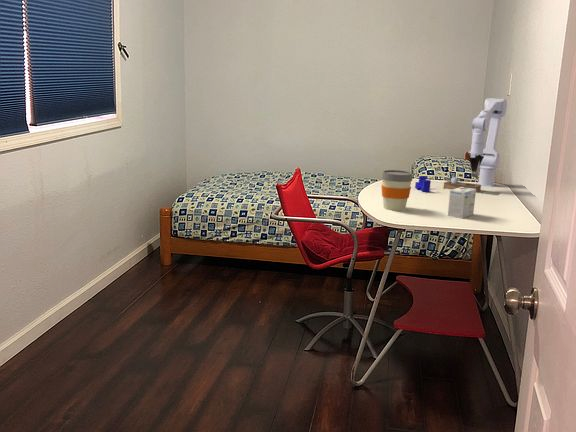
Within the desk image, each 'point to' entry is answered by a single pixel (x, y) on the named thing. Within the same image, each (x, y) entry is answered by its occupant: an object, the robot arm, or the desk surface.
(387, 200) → the reusable coffee cup
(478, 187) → the walnut hole block
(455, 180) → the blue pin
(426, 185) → the blue stepped block
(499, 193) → the rubber mat
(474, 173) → the steel pin
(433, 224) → the desk surface
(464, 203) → the light bulb box
